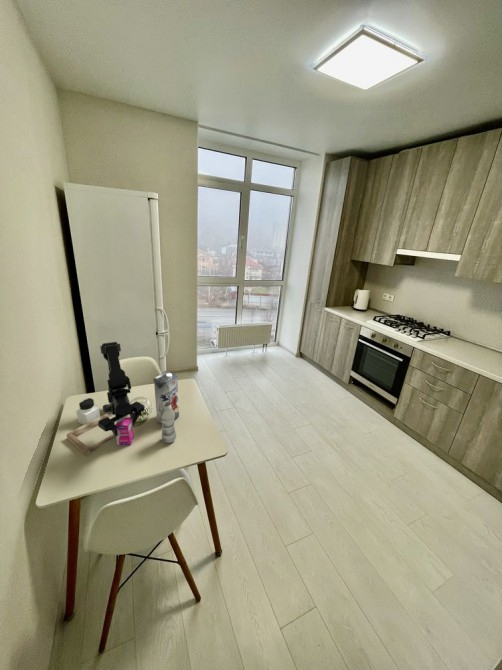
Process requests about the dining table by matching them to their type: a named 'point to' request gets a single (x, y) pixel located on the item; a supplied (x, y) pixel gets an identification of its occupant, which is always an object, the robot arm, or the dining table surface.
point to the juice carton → (166, 392)
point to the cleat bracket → (73, 434)
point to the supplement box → (124, 432)
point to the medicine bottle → (87, 411)
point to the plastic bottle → (167, 423)
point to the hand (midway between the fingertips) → (124, 430)
